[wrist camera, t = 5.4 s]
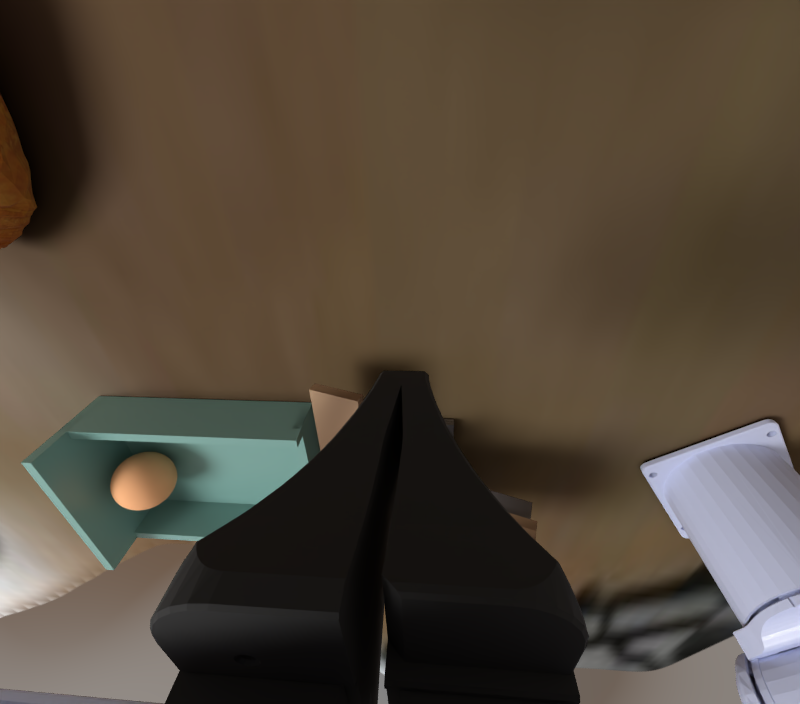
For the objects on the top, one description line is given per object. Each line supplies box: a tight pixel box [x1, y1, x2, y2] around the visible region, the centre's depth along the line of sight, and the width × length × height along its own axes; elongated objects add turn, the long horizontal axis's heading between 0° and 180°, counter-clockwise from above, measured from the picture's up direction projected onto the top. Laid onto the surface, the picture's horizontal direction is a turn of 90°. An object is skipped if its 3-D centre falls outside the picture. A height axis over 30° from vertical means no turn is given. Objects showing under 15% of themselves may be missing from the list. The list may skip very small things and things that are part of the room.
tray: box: [21, 396, 321, 570], centre depth 26 cm, size 15×11×6 cm
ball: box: [110, 452, 177, 510], centre depth 27 cm, size 4×4×4 cm
